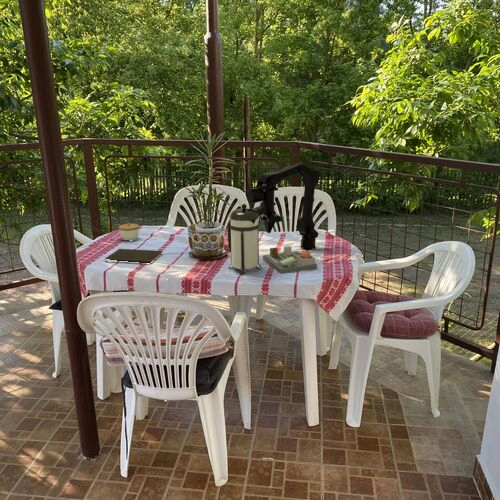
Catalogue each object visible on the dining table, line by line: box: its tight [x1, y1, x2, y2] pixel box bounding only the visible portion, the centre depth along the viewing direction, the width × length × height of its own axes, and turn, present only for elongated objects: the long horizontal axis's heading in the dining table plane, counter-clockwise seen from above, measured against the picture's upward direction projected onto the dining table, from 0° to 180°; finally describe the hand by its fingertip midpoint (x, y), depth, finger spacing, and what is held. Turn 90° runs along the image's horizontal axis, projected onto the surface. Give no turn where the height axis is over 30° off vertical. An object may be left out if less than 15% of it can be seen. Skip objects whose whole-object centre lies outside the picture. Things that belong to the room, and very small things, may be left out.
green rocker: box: [280, 256, 295, 266], centre depth 230 cm, size 6×4×1 cm, turn 109°
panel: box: [262, 250, 318, 275], centre depth 239 cm, size 18×21×5 cm
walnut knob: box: [269, 247, 279, 258], centre depth 243 cm, size 3×2×4 cm
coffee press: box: [227, 203, 263, 275], centre depth 230 cm, size 17×16×30 cm
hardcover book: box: [104, 248, 163, 264], centre depth 251 cm, size 16×23×2 cm
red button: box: [300, 250, 311, 259], centre depth 233 cm, size 4×4×4 cm
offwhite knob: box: [283, 245, 293, 256], centre depth 245 cm, size 3×2×4 cm
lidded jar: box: [118, 222, 140, 241], centre depth 280 cm, size 11×11×9 cm
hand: (268, 232), depth 247 cm, fingers closed
